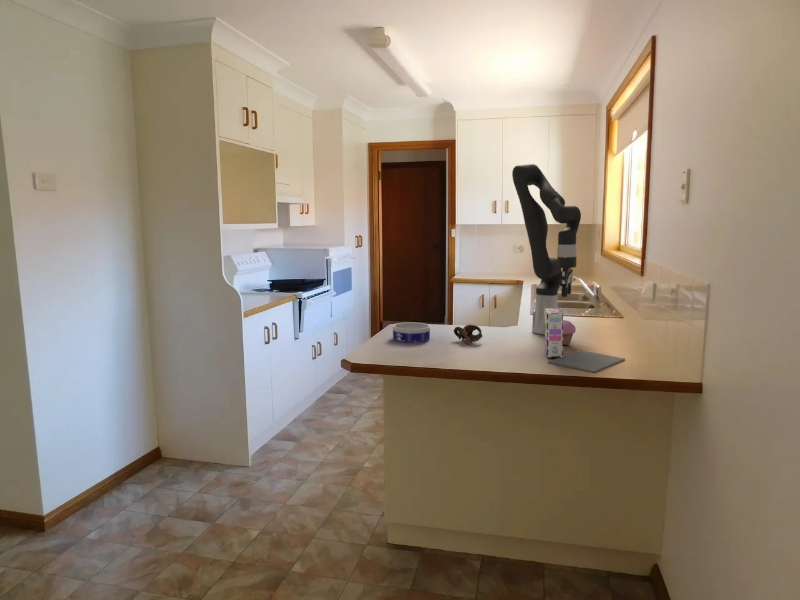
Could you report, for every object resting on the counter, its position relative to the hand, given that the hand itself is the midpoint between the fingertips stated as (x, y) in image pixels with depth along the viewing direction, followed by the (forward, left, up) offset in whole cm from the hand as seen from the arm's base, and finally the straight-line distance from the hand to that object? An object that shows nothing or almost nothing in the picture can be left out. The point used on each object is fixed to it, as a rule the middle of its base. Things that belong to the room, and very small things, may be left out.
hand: (566, 295), depth 225 cm
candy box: (+10, -25, -19) cm, 33 cm away
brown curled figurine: (-26, -32, -19) cm, 45 cm away
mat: (+22, -25, -19) cm, 39 cm away
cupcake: (+3, -7, -19) cm, 21 cm away
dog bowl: (-45, -45, -19) cm, 66 cm away
